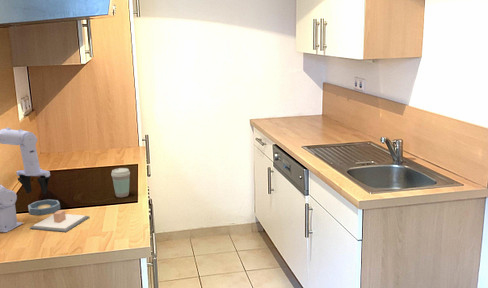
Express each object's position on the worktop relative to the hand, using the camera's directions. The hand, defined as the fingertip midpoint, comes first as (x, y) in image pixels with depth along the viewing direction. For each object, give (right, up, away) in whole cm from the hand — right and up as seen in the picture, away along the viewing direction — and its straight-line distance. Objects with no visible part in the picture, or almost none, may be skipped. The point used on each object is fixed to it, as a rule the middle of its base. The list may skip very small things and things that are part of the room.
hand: (37, 192), depth 203 cm
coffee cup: (+27, -4, +29) cm, 40 cm away
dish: (-1, -8, +11) cm, 14 cm away
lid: (+11, -11, -5) cm, 16 cm away
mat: (+11, -11, -4) cm, 16 cm away
